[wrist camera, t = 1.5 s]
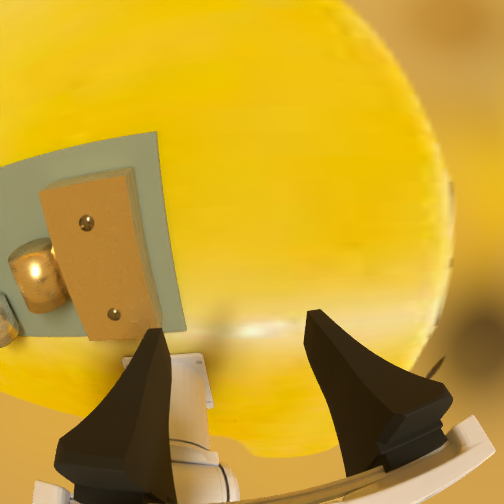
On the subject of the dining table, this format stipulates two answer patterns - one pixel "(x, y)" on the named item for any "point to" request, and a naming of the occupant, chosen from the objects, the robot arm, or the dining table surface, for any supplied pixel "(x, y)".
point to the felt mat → (34, 227)
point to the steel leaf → (7, 323)
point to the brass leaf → (92, 257)
